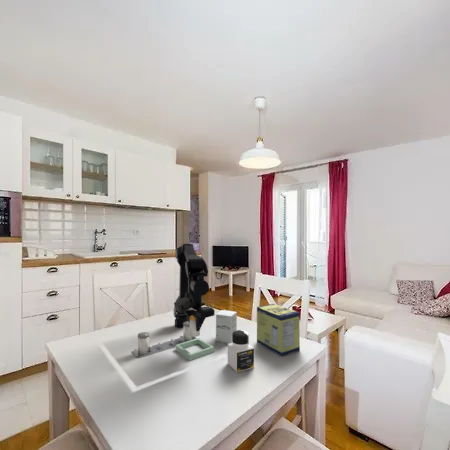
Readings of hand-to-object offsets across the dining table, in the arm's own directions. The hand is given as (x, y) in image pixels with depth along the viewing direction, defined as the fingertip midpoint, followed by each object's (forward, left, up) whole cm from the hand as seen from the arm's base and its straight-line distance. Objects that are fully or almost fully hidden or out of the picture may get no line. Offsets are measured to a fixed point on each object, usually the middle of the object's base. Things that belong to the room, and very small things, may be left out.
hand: (194, 329), depth 102 cm
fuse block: (+7, -11, -9) cm, 16 cm away
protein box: (-31, +16, -10) cm, 36 cm away
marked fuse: (0, 0, -2) cm, 2 cm away
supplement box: (-17, -1, -10) cm, 20 cm away
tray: (0, 0, -9) cm, 9 cm away
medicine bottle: (-8, +18, -10) cm, 22 cm away
